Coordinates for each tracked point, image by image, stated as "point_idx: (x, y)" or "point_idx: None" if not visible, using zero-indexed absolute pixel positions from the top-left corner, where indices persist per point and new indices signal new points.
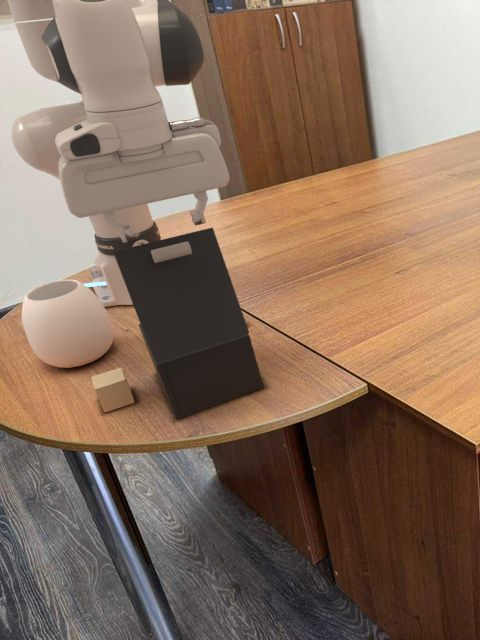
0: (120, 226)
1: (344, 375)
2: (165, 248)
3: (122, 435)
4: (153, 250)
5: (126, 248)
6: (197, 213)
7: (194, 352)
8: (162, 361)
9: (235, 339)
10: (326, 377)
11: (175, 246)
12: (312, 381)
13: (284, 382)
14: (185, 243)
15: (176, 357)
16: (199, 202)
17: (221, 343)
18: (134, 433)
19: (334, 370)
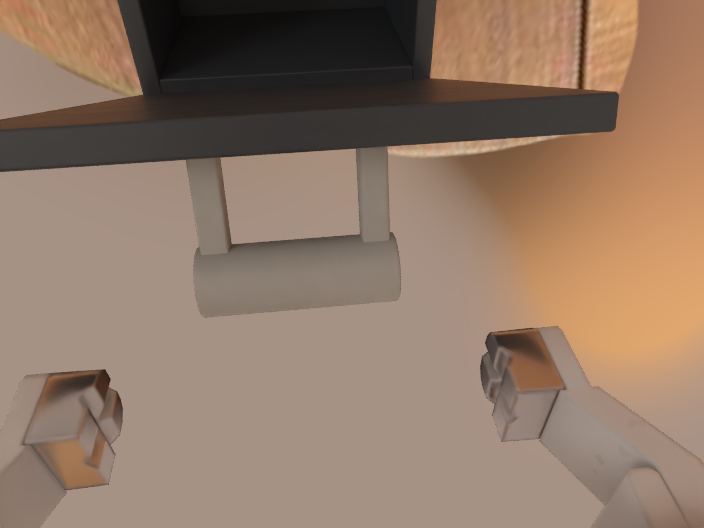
0: (43, 521)
1: (564, 78)
2: (275, 308)
3: (35, 15)
4: (211, 308)
5: (19, 170)
6: (531, 436)
7: (259, 86)
8: (161, 85)
9: (386, 80)
10: (531, 61)
11: (328, 306)
12: (499, 58)
13: (446, 20)
14: (382, 298)
15: (204, 86)
16: (601, 470)
17: (343, 80)
18: (66, 24)
19: (563, 42)
